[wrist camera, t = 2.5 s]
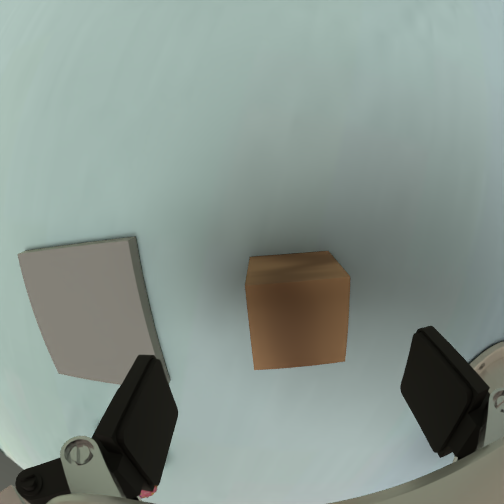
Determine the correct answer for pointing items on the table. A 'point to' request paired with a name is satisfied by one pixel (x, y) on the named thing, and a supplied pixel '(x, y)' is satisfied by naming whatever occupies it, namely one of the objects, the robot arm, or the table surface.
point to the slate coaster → (91, 307)
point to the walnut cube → (297, 309)
